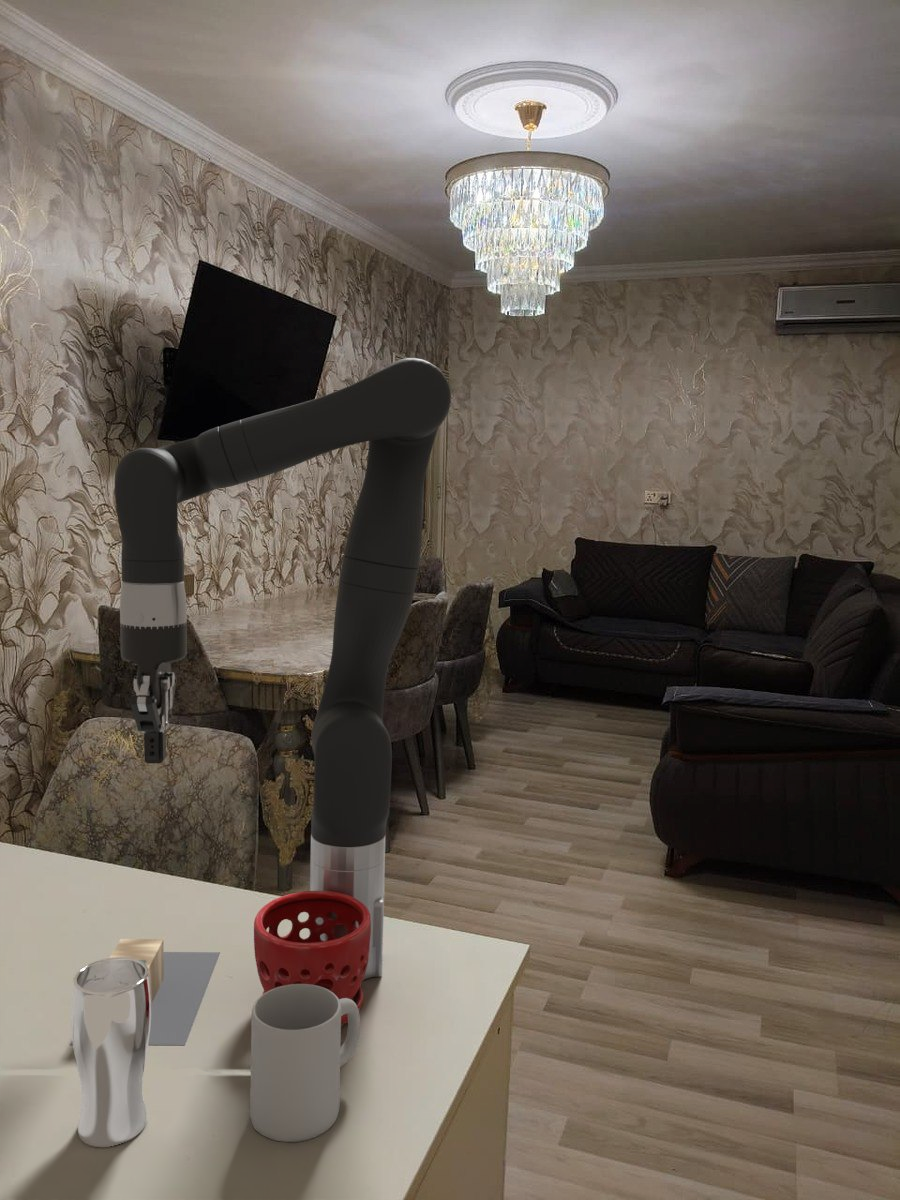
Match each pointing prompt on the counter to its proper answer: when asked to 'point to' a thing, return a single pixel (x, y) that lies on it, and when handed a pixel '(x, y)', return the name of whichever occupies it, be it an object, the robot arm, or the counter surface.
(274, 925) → the plant pot
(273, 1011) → the mug
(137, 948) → the maple block
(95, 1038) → the beer glass
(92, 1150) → the counter surface
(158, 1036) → the rubber mat
